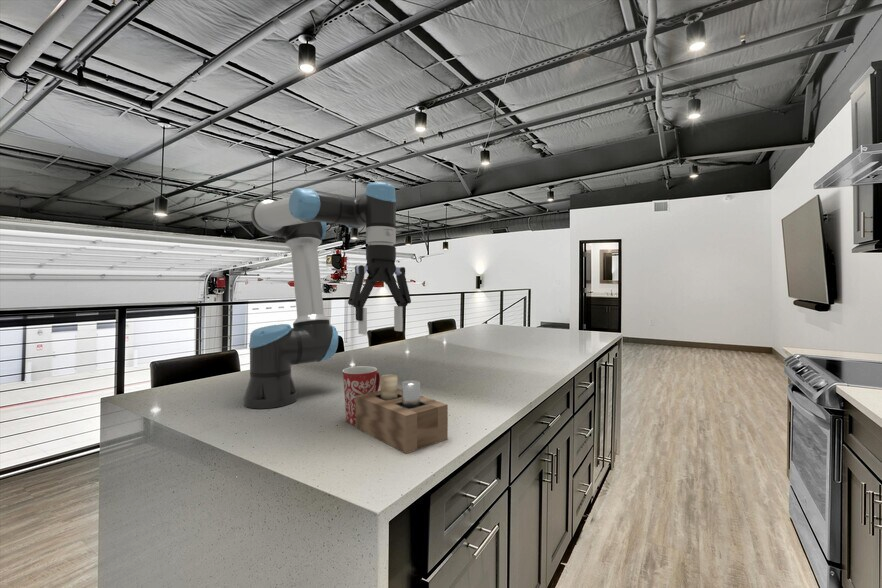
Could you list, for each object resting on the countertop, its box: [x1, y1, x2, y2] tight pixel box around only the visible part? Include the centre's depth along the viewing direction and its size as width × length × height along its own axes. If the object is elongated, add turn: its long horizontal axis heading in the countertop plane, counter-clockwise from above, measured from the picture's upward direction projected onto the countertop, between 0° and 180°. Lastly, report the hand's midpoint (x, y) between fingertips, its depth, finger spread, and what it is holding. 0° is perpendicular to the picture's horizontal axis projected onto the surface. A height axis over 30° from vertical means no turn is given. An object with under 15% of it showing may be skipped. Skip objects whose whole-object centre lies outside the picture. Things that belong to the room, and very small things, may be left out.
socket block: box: [355, 387, 449, 454], centre depth 94 cm, size 21×12×8 cm, turn 42°
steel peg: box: [401, 379, 421, 409], centre depth 91 cm, size 4×4×8 cm
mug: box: [341, 365, 381, 425], centre depth 105 cm, size 13×9×14 cm
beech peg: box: [379, 373, 398, 400], centre depth 97 cm, size 4×4×8 cm
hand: (381, 332), depth 100 cm, fingers open, 10 cm apart
